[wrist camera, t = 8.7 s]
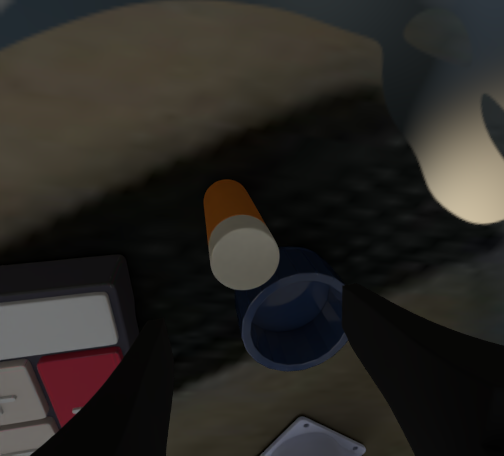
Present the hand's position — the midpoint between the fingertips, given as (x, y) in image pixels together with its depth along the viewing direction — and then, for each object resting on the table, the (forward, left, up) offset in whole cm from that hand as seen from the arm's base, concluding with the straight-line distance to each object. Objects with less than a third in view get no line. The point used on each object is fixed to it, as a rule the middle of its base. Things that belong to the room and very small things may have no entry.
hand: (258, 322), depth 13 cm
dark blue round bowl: (-7, +2, -10) cm, 12 cm away
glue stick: (+1, -1, -10) cm, 10 cm away
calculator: (+4, +15, -11) cm, 19 cm away
